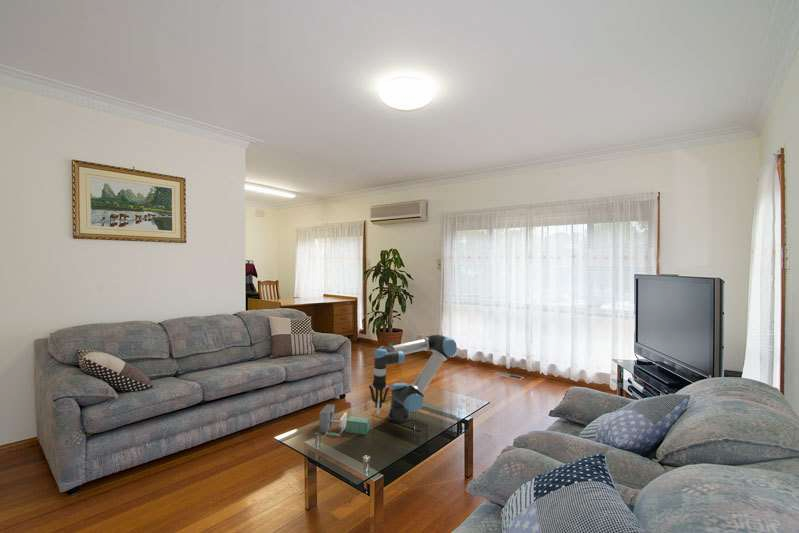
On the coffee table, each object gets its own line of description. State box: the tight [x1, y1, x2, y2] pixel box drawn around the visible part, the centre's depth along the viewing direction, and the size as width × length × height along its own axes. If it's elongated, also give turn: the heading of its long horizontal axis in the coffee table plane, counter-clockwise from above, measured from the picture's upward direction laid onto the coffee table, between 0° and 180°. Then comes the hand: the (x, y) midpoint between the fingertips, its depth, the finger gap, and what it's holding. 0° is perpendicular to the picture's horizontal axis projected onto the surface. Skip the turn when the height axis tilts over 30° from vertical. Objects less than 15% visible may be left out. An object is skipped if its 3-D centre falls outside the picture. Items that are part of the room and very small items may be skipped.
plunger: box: [330, 411, 348, 434], centre depth 226 cm, size 13×16×8 cm
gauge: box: [318, 403, 342, 437], centre depth 227 cm, size 14×16×12 cm
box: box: [345, 415, 371, 436], centre depth 226 cm, size 7×14×8 cm, turn 79°
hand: (378, 413), depth 225 cm, fingers closed
